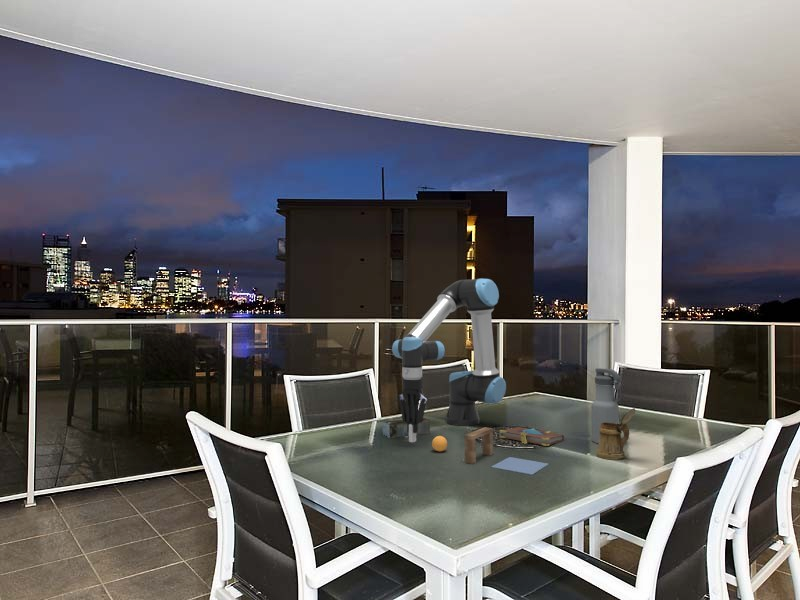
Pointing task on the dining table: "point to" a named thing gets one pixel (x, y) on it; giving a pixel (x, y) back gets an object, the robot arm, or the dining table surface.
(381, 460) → the dining table surface
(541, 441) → the book
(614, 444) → the wooden mug
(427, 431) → the beverage carton
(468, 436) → the bridge
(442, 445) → the ball
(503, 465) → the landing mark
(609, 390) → the water bottle
